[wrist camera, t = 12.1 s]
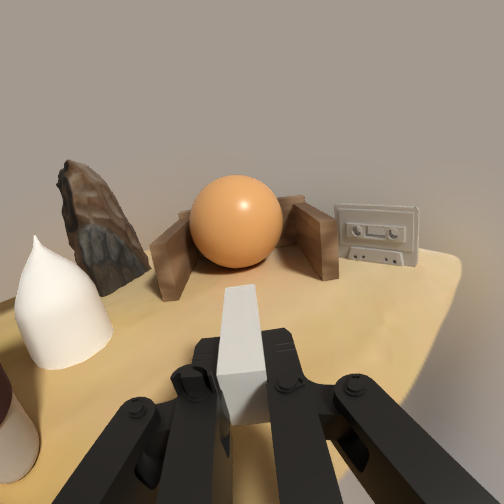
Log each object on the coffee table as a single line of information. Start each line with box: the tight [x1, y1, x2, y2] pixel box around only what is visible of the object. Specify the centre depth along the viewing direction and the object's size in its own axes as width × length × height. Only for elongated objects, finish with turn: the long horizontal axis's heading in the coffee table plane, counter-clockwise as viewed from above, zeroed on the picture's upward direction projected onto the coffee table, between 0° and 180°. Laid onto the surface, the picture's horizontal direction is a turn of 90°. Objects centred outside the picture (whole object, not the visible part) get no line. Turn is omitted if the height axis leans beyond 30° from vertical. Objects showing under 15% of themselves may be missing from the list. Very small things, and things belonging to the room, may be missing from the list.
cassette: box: [334, 203, 419, 267], centre depth 34 cm, size 12×2×8 cm, turn 49°
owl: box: [56, 160, 152, 297], centre depth 38 cm, size 13×13×20 cm
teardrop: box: [14, 235, 114, 370], centre depth 22 cm, size 11×11×12 cm
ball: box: [190, 175, 283, 268], centre depth 39 cm, size 13×13×13 cm
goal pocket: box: [149, 195, 339, 301], centre depth 39 cm, size 21×18×8 cm
